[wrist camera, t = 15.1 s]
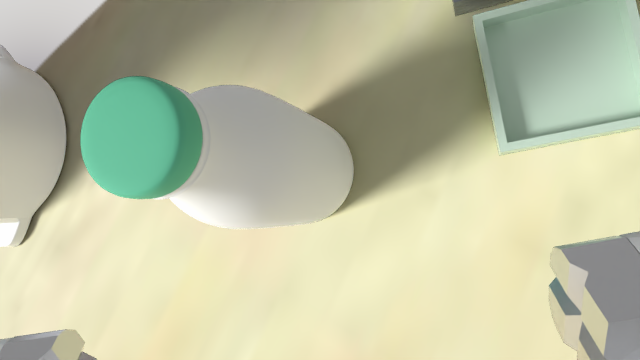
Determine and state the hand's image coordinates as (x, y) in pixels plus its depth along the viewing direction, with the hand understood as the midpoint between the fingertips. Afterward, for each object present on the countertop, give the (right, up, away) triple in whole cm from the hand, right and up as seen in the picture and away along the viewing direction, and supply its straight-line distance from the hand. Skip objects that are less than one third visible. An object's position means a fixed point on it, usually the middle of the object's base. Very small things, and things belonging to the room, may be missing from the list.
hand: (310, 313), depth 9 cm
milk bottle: (-1, +3, +29) cm, 29 cm away
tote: (+16, +9, +24) cm, 30 cm away
